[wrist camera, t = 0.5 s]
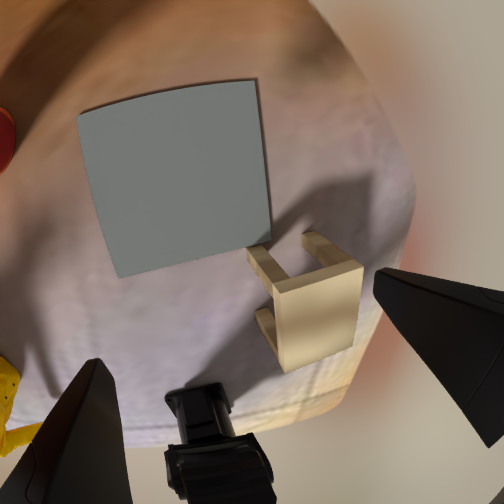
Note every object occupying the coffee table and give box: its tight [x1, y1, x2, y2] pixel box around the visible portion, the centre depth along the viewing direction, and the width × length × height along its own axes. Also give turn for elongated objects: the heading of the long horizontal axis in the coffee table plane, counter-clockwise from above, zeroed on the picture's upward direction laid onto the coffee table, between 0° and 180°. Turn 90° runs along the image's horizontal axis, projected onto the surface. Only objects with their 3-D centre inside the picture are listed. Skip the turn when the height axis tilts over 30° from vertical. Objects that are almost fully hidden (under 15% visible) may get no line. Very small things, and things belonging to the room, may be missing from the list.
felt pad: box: [76, 81, 272, 279], centre depth 17 cm, size 12×12×1 cm
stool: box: [246, 231, 364, 373], centre depth 21 cm, size 8×6×7 cm
